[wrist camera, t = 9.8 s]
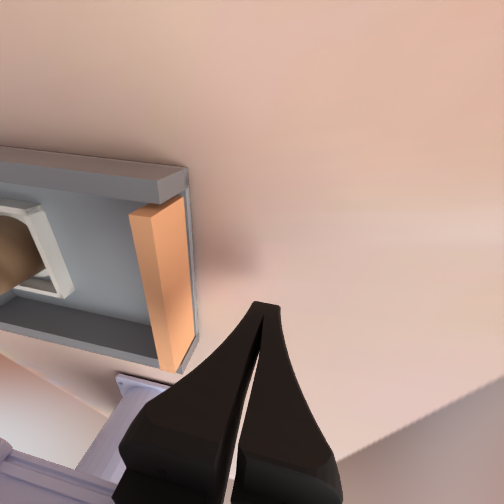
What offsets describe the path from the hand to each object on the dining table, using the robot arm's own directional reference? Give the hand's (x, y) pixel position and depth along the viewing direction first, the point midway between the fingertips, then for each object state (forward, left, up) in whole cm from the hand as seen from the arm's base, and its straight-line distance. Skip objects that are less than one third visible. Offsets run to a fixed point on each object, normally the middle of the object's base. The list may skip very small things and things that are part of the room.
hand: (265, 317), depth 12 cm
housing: (0, +14, -3) cm, 14 cm away
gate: (0, +6, -2) cm, 6 cm away
